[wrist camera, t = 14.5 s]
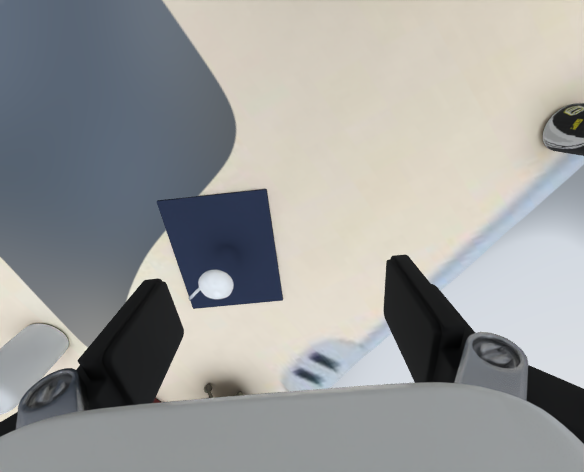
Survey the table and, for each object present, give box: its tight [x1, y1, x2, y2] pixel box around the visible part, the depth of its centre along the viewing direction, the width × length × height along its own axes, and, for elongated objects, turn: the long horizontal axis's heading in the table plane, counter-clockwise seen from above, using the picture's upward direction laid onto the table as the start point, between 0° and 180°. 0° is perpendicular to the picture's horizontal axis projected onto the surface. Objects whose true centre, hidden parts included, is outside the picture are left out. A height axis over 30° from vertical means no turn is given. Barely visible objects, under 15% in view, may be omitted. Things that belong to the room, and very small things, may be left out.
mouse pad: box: [157, 189, 283, 309], centre depth 43 cm, size 20×16×1 cm
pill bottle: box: [0, 324, 69, 414], centre depth 43 cm, size 8×8×15 cm
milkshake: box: [189, 246, 238, 300], centre depth 38 cm, size 5×5×10 cm
